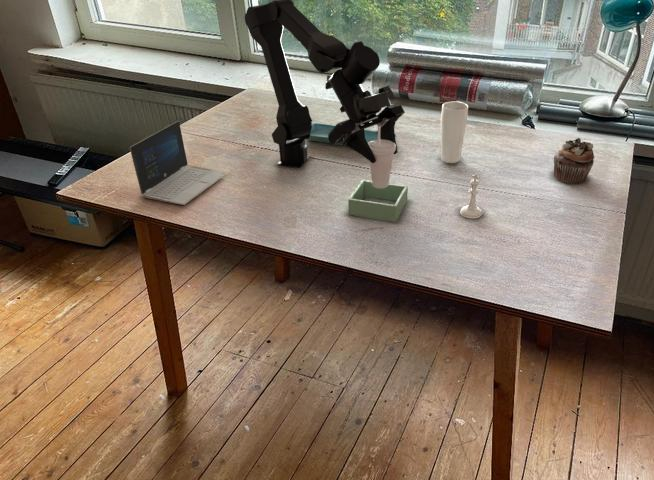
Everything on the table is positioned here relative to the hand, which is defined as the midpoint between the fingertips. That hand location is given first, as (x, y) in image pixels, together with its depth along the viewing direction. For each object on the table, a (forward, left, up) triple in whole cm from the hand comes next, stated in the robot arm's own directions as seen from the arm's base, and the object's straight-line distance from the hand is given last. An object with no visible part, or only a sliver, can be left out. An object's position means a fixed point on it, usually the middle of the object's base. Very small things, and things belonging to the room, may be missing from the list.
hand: (385, 158), depth 125 cm
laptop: (-50, -4, -13) cm, 52 cm away
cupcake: (+41, +30, -13) cm, 52 cm away
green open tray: (-1, 0, -13) cm, 13 cm away
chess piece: (+20, +4, -13) cm, 24 cm away
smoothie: (-1, +1, -7) cm, 7 cm away
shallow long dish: (-20, +35, -13) cm, 43 cm away
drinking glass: (+10, +31, -13) cm, 35 cm away
